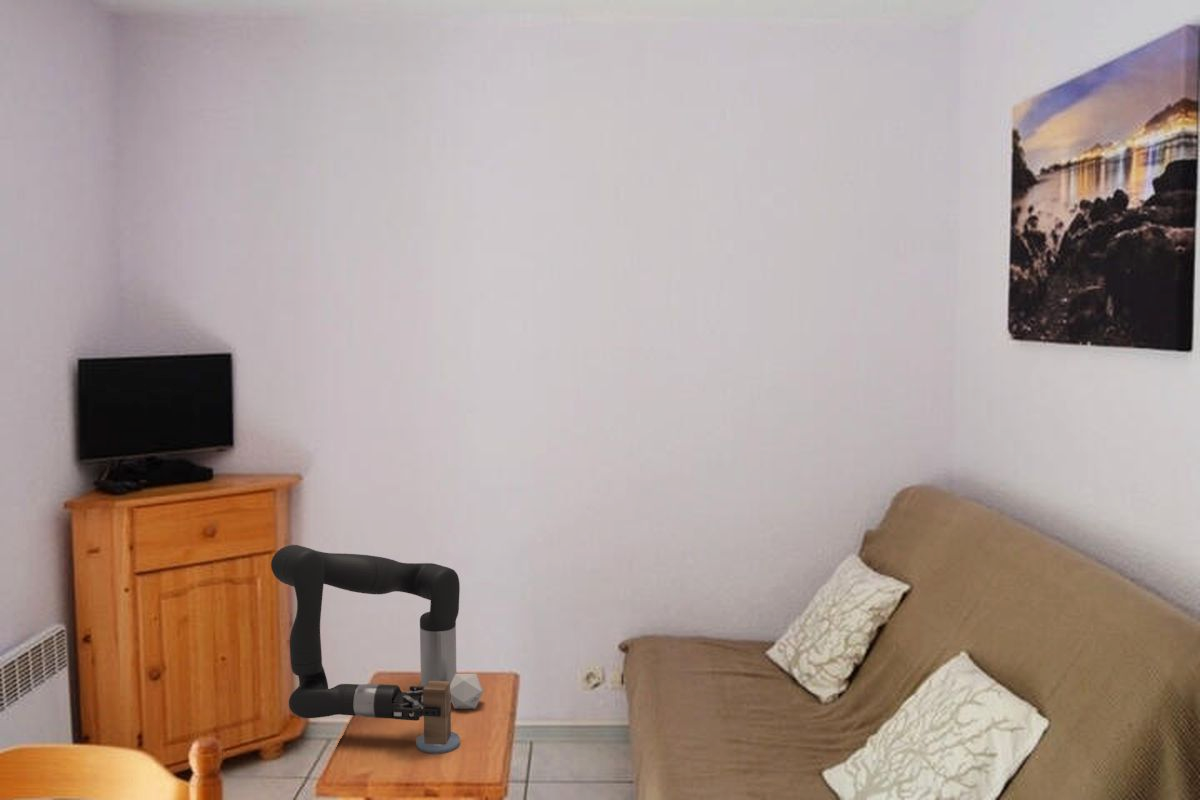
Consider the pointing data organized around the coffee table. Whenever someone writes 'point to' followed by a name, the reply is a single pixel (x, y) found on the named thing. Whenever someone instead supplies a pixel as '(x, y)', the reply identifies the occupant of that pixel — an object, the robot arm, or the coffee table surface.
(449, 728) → the walnut block
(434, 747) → the slate dish
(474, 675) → the die
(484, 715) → the coffee table surface
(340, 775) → the coffee table surface
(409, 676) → the coffee table surface
